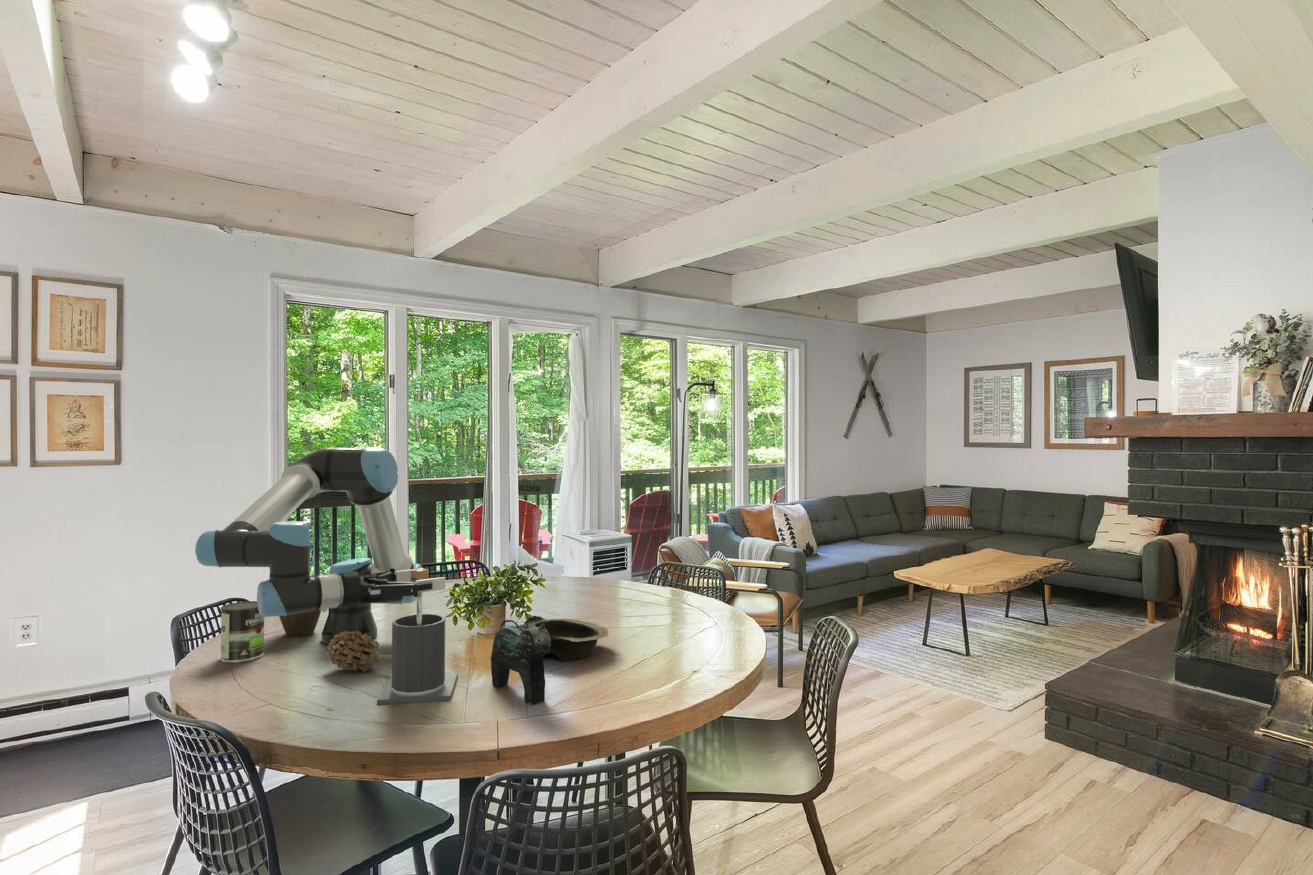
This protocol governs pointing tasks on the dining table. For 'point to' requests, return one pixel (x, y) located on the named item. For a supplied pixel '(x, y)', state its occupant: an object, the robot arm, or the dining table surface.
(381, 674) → the dining table surface
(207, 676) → the dining table surface
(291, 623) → the plant pot
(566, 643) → the stone bowl
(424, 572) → the plunger
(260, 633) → the coffee can
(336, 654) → the pine cone
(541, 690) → the dark animal figurine
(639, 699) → the dining table surface
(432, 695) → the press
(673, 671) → the dining table surface
